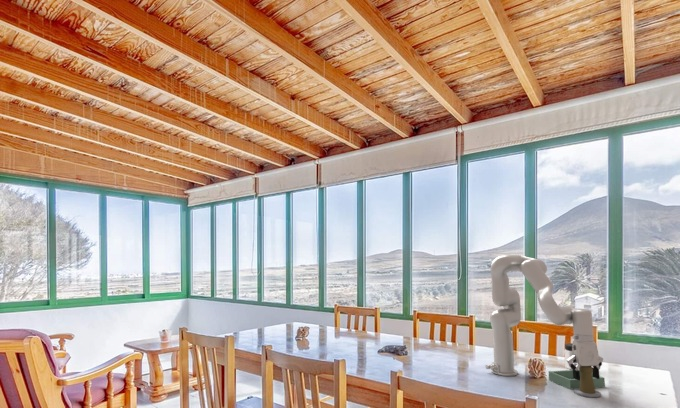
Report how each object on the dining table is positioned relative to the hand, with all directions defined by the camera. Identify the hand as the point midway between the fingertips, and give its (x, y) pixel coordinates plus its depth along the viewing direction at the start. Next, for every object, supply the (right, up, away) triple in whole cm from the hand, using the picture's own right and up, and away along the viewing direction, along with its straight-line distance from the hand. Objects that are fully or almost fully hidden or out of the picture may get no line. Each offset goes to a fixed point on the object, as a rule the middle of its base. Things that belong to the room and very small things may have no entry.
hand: (586, 378), depth 179 cm
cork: (0, -6, -1) cm, 6 cm away
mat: (0, -6, -1) cm, 6 cm away
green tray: (+3, -8, +14) cm, 16 cm away
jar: (+17, -11, +38) cm, 43 cm away
